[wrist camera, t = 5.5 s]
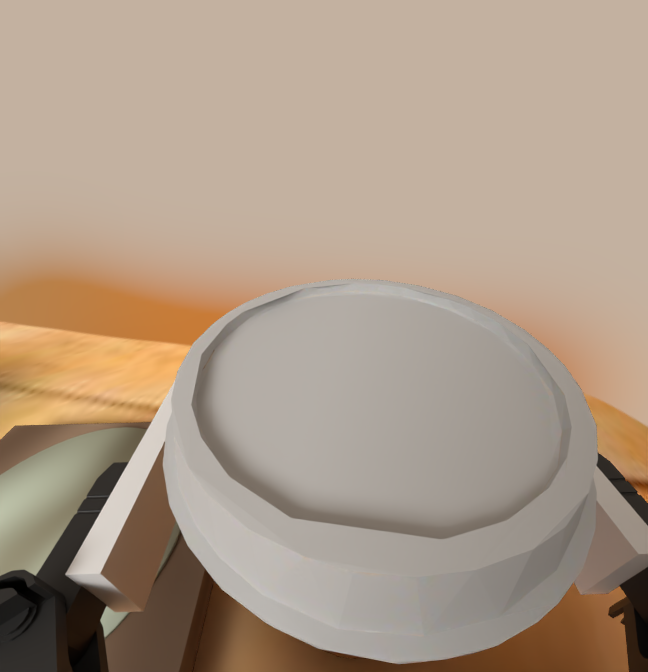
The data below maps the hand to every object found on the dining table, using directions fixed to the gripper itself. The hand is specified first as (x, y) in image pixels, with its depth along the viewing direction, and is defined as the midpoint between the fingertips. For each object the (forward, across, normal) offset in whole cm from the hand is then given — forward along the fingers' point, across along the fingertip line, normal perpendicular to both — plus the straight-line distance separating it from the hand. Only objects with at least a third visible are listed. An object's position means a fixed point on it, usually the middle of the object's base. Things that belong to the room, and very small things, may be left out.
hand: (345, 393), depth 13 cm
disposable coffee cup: (-4, 0, -7) cm, 8 cm away
